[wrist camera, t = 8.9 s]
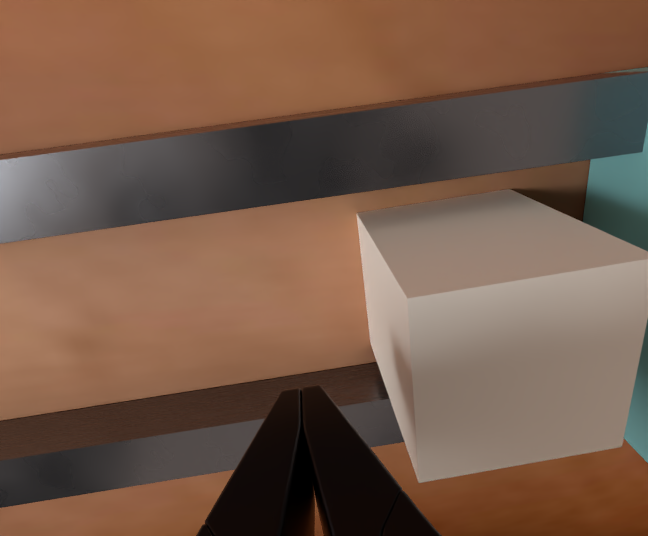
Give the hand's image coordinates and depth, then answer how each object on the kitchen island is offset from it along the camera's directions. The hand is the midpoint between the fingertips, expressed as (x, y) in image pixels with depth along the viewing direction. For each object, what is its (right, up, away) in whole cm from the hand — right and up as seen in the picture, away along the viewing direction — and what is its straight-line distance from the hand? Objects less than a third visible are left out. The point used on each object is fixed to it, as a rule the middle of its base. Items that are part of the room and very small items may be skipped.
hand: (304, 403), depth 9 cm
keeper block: (+4, +3, +6) cm, 8 cm away
